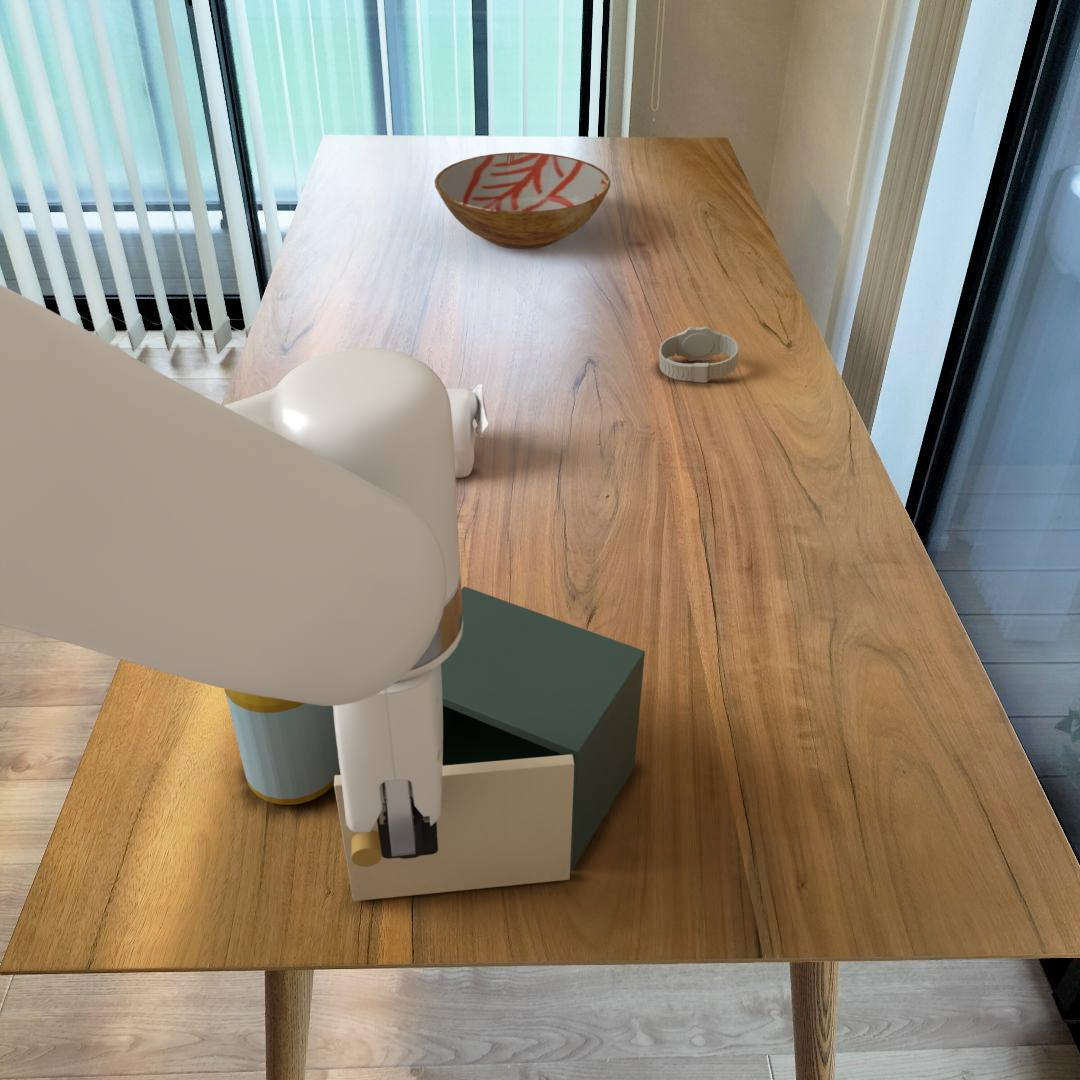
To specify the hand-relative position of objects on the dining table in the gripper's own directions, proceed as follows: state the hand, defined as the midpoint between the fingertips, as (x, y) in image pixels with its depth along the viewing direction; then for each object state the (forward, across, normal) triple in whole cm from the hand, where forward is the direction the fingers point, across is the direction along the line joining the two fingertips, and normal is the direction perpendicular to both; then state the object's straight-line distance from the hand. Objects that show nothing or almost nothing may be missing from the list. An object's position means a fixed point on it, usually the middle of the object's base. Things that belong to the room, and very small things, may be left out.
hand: (410, 844), depth 62 cm
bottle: (+9, -14, -8) cm, 19 cm away
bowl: (+10, -113, +18) cm, 115 cm away
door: (+8, -2, +3) cm, 9 cm away
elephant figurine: (+9, -54, +4) cm, 55 cm away
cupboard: (+9, -11, +7) cm, 16 cm away
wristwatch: (+10, -69, +34) cm, 78 cm away
